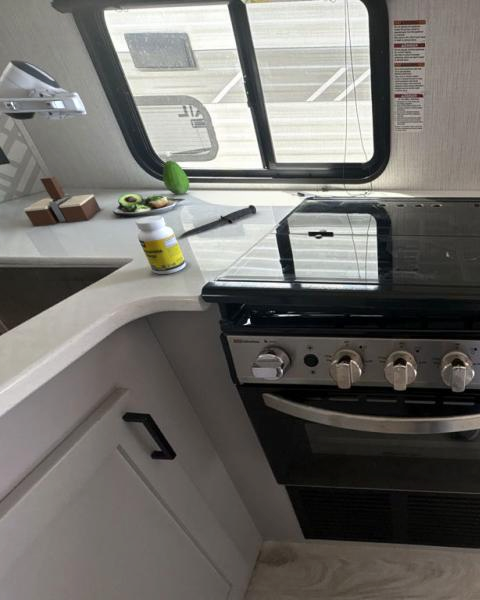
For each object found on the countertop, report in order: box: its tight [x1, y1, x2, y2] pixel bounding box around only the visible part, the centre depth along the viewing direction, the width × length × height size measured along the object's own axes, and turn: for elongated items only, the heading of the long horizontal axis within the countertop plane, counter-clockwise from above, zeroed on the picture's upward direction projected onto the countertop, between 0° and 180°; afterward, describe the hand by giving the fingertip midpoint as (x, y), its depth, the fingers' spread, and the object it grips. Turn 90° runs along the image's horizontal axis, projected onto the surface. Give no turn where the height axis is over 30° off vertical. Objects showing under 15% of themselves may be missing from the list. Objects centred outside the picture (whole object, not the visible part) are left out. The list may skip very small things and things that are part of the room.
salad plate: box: [113, 192, 186, 219], centre depth 109 cm, size 19×18×5 cm
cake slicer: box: [39, 175, 72, 223], centre depth 100 cm, size 10×2×12 cm, turn 23°
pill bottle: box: [135, 215, 187, 275], centre depth 69 cm, size 6×6×11 cm
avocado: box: [162, 160, 190, 196], centre depth 123 cm, size 8×8×12 cm
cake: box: [22, 193, 101, 227], centre depth 102 cm, size 12×13×5 cm
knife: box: [179, 204, 257, 239], centre depth 95 cm, size 24×5×3 cm, turn 143°
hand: (29, 105), depth 97 cm, fingers open, 8 cm apart
